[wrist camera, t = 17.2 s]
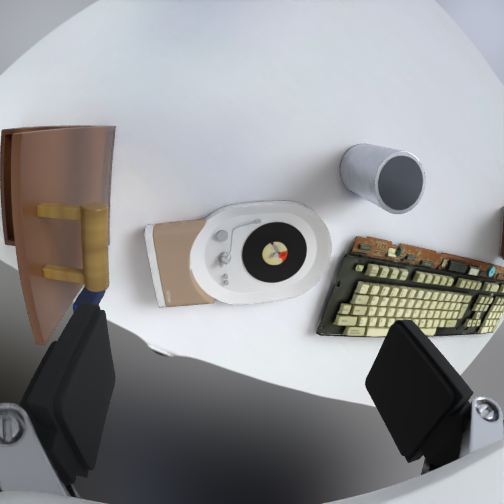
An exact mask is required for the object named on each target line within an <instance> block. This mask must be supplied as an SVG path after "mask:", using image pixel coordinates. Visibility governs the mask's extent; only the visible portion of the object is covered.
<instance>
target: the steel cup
mask: <svg viewBox="0 0 504 504" xmlns="http://www.w3.org/2000/svg"><path fill="white" fill-rule="evenodd" d="M340 174H341V178H342V181H343V183H344V185H345V186H346V187H347V188H348V189H349V190H350V191H351V192H353V193H355V194H357V195H359V196H361V197H362V198H364V199H366V200H368V201H370V202H372V203H373V204H375V205H377V206H379V207H381V208H382V209H384V210H386V211H388V212H390V213H393V214H403V213H406V212H408V211H410V210H411V209H413V208H414V207H415V206H416V205H417V204H418V202H419V201H420V199H421V197H422V195H423V192H424V189H425V172H424V169H423V166H422V164H421V163H420V161H419V160H418V159H417V157H415V156H414V155H413V154H411V153H409V152H406V151H401V150H396V149H391V148H386V147H381V146H376V145H370V144H358V145H355V146H353V147H351V148H350V149H349V150H348V151H347V152H346V153H345V155H344V157H343V159H342V161H341V166H340Z"/></svg>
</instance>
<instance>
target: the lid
mask: <svg viewBox="0 0 504 504" xmlns="http://www.w3.org/2000/svg"><path fill="white" fill-rule="evenodd" d="M106 128H107V127H106V126H95V127H76V128H61V129H50V130H39V131H30V132H22V133H15V134H12V148H11V199H12V216H13V228H14V238H15V246H16V254H17V261H18V268H19V274H20V279H21V284H22V289H23V294H24V299H25V303H26V308H27V313H28V317H29V321H30V325H31V328H32V332H33V335H34V339H35V343H36V344H39V345H43V346H44V345H45V344H46V343H47V341H48V339H49V338H50V336H51V334H52V333H53V331H54V329H55V328H56V326H57V324H58V323H59V321H60V320H61V318H62V317H63V315H64V313H65V312H66V310H67V309H68V307H69V306H70V304H71V303H72V301H73V300H74V298H75V297H76V295H77V294H78V292H79V291H80V289H81V288H82V286H83V285H84V284H85V288H86V289H87V290H89V291H93V292H100V291H104V290H106V289H107V288H108V287H109V267H108V205H107V204H105V203H101V196H102V174H103V159H104V147H105V137H106Z"/></svg>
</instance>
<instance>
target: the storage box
mask: <svg viewBox="0 0 504 504" xmlns="http://www.w3.org/2000/svg"><path fill="white" fill-rule="evenodd" d="M76 127H95V126H91V125H75V126H39V127H22V128H11V129H3V130H2V132H1V153H0V188H1V208H2V221H3V231H4V239H5V245H13V246H15V238H14V228H13V216H12V199H11V148H12V134H15V133H22V132H30V131H39V130H50V129H61V128H76ZM106 127H107V128H106V137H105V147H104V159H103V174H102V196H101V203H105V204H107V205H108V245H109V218H110V188H111V171H112V158H113V147H114V137H115V128H116V126H106Z"/></svg>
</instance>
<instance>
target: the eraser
mask: <svg viewBox="0 0 504 504" xmlns="http://www.w3.org/2000/svg"><path fill="white" fill-rule="evenodd" d="M104 293H105V290H104V291H100V292H93V291H89V290H87V289H86V288H85V287H84V289H83V291H82V292H81V293H80V294H79V296H78V298H77V299H76V301H75V303H74V305H73V311H74V312H75V310H76V309H77V307H78V305H79V304H80V303H89V304H97V305H99V303H100V301H101V299H102V298H103V296H104Z"/></svg>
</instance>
